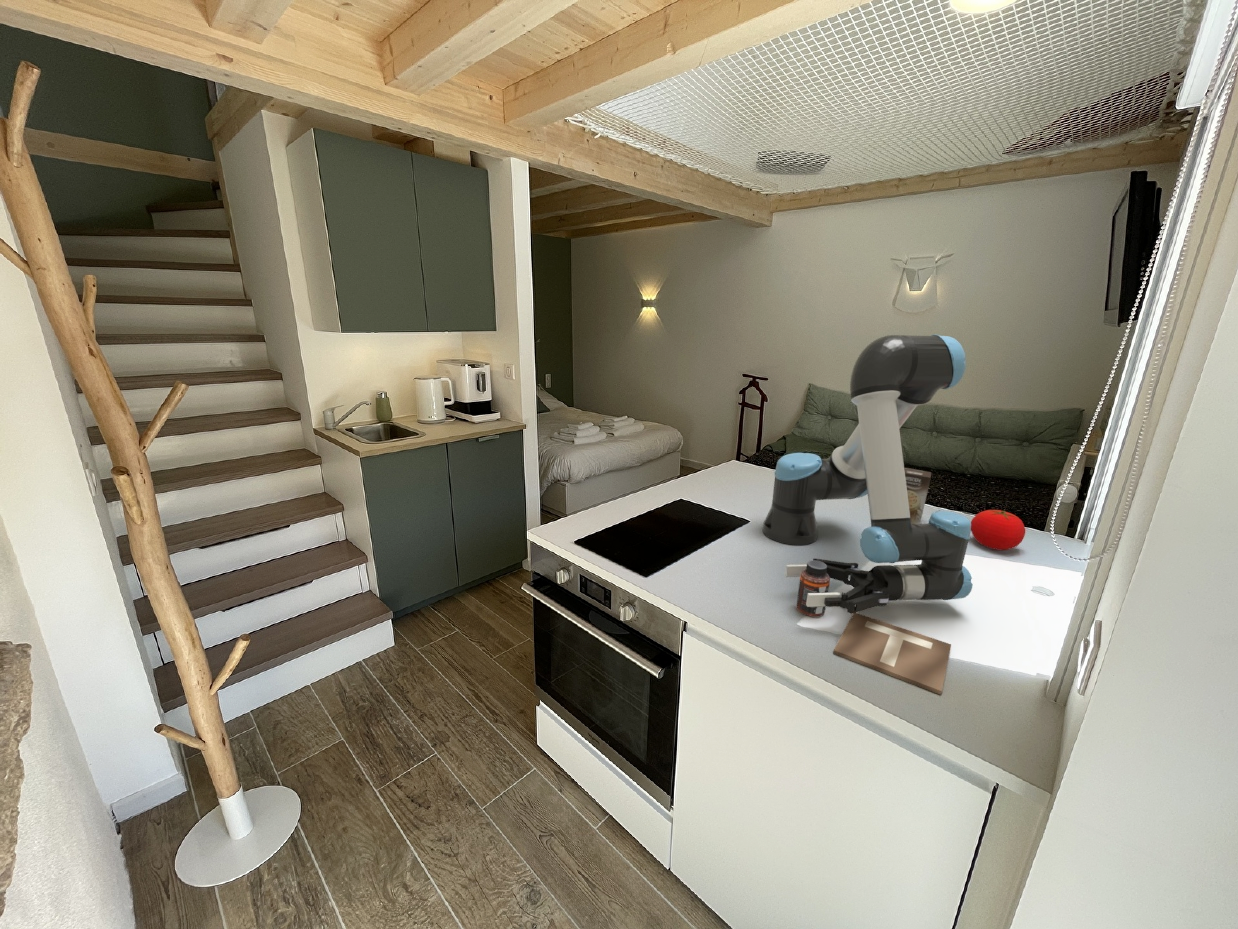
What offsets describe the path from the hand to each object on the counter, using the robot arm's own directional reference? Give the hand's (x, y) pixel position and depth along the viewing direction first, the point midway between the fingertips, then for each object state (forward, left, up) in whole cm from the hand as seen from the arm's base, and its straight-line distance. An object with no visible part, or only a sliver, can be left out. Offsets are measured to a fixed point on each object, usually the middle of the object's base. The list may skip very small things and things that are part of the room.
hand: (796, 584), depth 111 cm
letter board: (+20, -1, -6) cm, 21 cm away
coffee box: (+11, +71, -7) cm, 72 cm away
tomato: (+34, +67, -7) cm, 75 cm away
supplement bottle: (+3, +3, -7) cm, 8 cm away
